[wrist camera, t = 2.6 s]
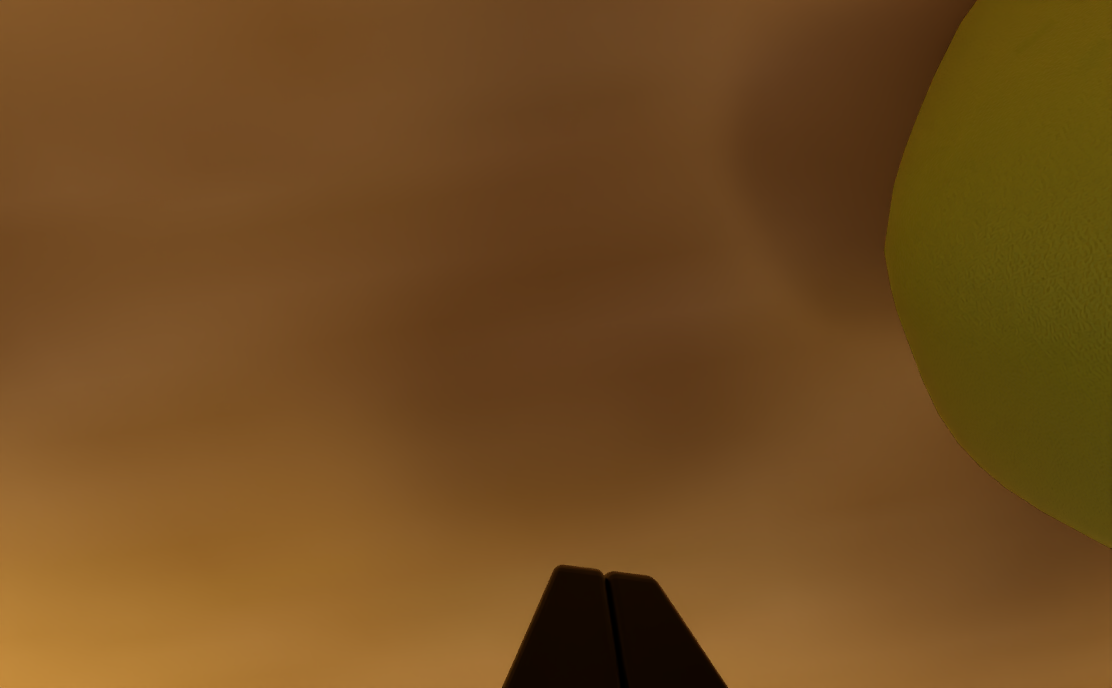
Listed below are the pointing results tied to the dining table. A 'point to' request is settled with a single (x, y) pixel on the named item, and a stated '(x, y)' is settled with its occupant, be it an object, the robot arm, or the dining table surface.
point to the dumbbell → (1016, 250)
